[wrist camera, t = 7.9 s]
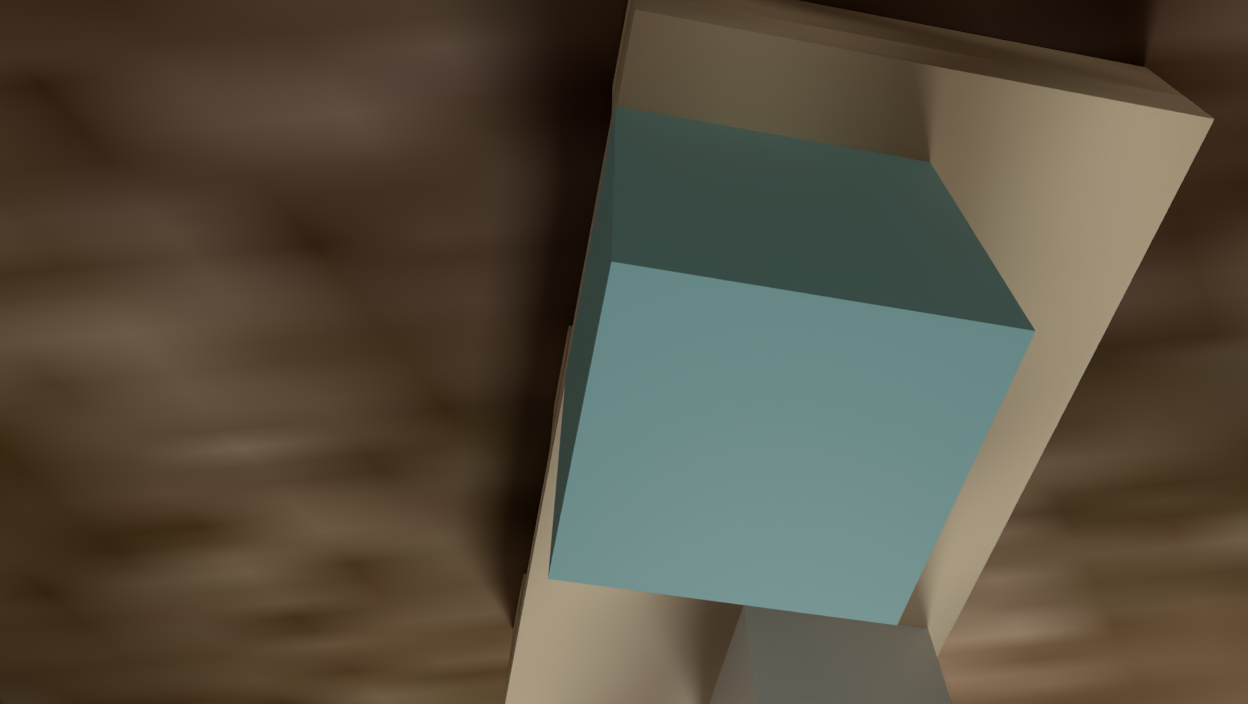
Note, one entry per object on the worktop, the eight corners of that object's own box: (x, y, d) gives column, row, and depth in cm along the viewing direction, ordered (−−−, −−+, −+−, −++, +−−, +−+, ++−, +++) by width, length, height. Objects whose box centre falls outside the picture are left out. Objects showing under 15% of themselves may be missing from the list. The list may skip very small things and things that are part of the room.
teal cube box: (565, 373, 18) (547, 578, 14) (615, 106, 16) (611, 262, 12) (837, 415, 19) (896, 625, 15) (930, 162, 16) (1035, 331, 12)
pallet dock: (512, 631, 26) (502, 715, 24) (633, -32, 17) (635, 10, 15) (863, 676, 27) (883, 761, 24) (1145, 67, 18) (1214, 119, 16)
